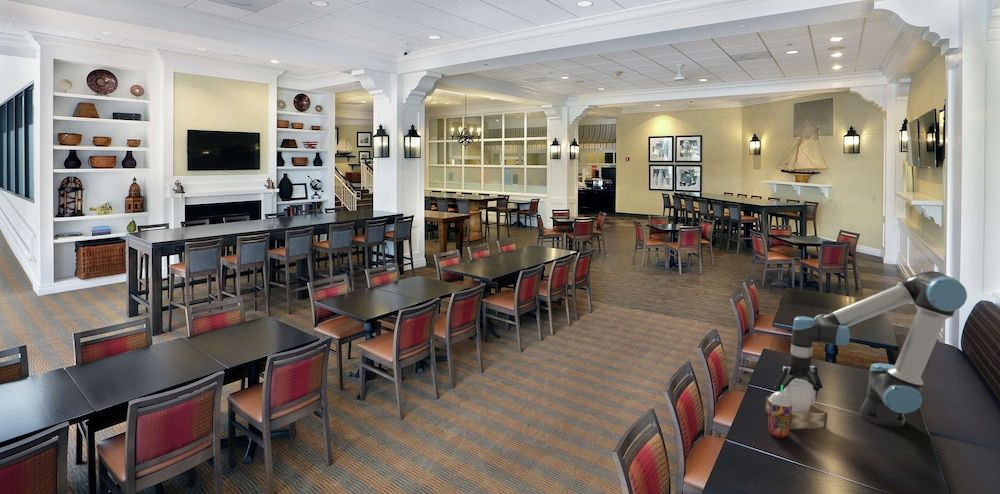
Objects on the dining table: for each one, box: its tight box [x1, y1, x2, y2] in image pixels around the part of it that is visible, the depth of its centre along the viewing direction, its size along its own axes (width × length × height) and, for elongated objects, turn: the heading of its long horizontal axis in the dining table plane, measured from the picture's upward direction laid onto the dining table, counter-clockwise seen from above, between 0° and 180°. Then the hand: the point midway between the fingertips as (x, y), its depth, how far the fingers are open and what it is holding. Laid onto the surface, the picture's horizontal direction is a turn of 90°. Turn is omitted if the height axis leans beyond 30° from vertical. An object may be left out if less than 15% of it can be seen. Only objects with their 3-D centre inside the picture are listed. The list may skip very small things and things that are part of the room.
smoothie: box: [767, 385, 793, 439], centre depth 208 cm, size 8×8×20 cm
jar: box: [783, 378, 813, 414], centre depth 222 cm, size 11×10×15 cm
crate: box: [764, 396, 828, 430], centre depth 222 cm, size 16×17×6 cm
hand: (795, 405), depth 222 cm, fingers open, 12 cm apart
